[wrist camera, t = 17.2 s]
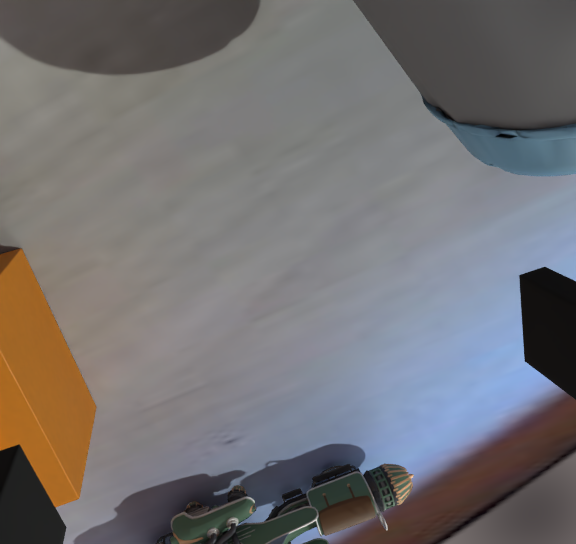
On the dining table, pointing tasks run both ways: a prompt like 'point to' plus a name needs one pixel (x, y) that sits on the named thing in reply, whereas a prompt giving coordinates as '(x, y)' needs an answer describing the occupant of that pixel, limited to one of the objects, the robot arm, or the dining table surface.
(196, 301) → the dining table surface
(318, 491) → the hoverbike
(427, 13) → the robot arm
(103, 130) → the dining table surface
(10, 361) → the orange striped block
